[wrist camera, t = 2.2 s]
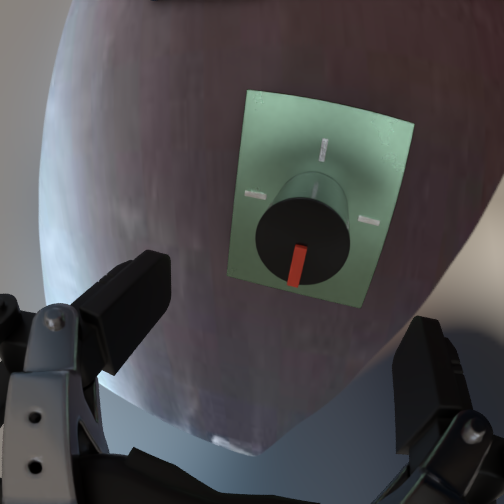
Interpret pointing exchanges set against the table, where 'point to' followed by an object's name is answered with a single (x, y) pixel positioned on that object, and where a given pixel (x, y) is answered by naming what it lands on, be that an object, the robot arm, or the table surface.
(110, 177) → the table surface
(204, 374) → the table surface
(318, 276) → the knob
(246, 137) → the panel
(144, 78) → the table surface
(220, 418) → the table surface
